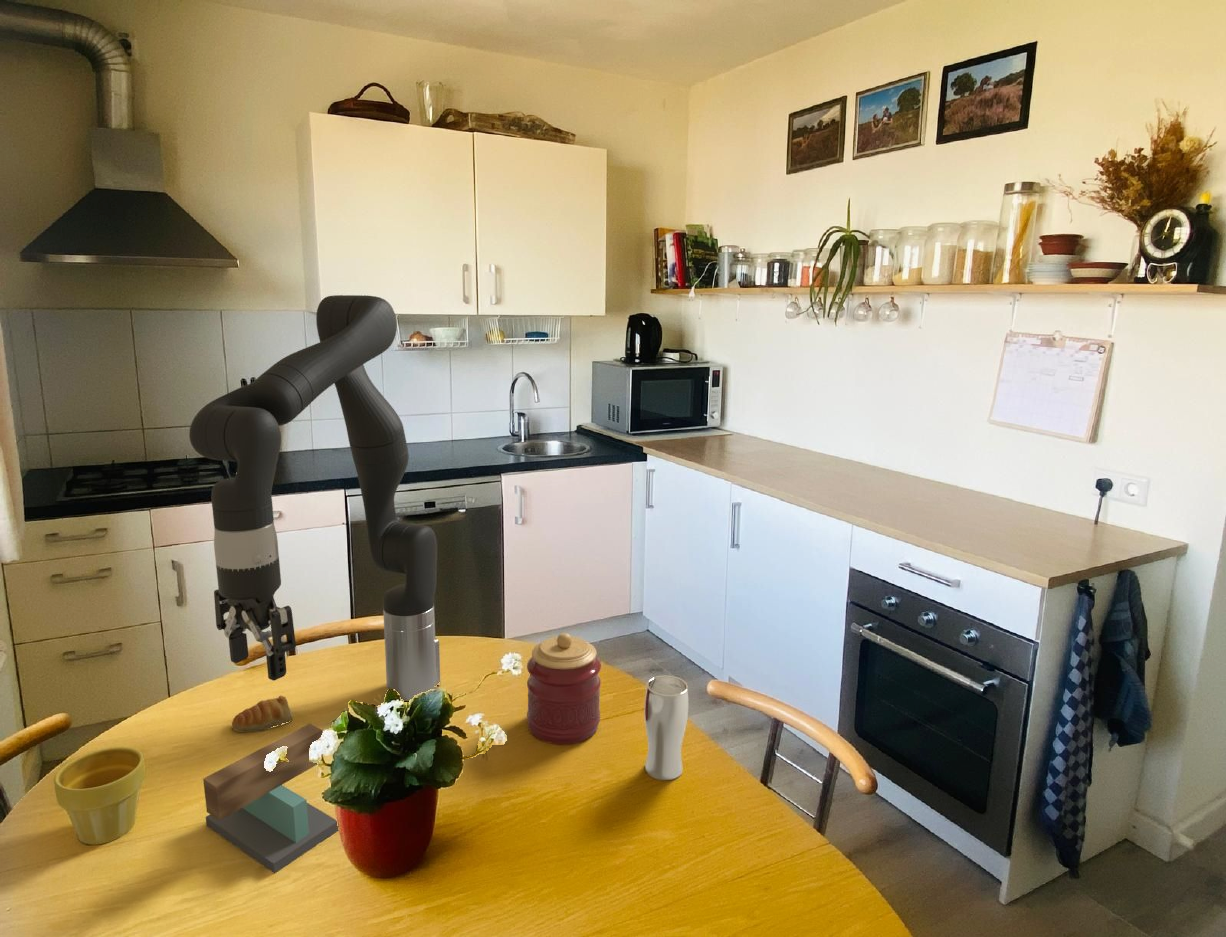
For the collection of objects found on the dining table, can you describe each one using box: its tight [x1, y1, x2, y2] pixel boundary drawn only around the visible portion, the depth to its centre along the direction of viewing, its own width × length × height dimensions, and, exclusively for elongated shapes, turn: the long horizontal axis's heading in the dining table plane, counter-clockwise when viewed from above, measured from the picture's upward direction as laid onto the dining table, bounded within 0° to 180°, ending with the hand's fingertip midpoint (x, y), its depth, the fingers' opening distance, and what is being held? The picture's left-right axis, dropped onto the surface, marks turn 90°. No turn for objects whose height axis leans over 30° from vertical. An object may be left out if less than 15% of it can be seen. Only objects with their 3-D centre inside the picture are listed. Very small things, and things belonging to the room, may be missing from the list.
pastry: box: [231, 695, 293, 733], centre depth 133 cm, size 9×7×4 cm
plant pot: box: [53, 746, 146, 846], centre depth 106 cm, size 10×10×10 cm
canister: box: [526, 632, 602, 745], centre depth 133 cm, size 13×13×18 cm
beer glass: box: [643, 674, 689, 781], centre depth 122 cm, size 7×7×15 cm
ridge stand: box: [205, 784, 339, 874], centre depth 107 cm, size 10×16×7 cm, turn 57°
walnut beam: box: [202, 723, 324, 820], centre depth 105 cm, size 16×3×5 cm, turn 147°
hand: (258, 668), depth 103 cm, fingers open, 8 cm apart
